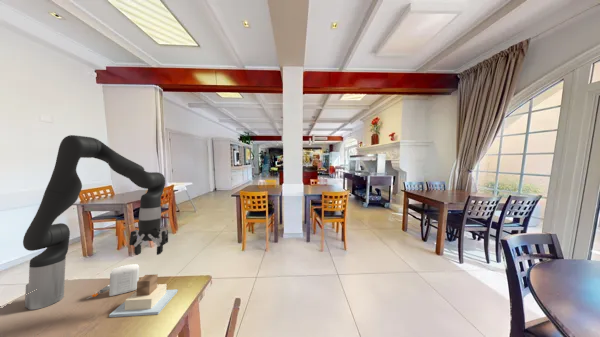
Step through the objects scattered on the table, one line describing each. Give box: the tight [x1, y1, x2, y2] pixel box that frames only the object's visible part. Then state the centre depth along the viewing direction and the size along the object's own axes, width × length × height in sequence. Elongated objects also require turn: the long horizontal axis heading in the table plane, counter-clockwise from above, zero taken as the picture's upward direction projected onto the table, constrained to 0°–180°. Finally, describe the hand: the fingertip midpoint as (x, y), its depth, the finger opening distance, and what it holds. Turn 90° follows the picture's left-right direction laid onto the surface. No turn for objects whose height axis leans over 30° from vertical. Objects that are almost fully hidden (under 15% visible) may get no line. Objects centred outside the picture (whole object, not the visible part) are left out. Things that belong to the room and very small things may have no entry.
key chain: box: [86, 284, 110, 300], centre depth 85 cm, size 13×4×2 cm, turn 174°
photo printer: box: [108, 263, 140, 297], centre depth 87 cm, size 10×4×12 cm, turn 123°
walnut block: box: [136, 273, 158, 296], centre depth 79 cm, size 5×5×6 cm
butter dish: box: [108, 283, 179, 318], centre depth 79 cm, size 18×14×5 cm
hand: (148, 254), depth 80 cm, fingers open, 8 cm apart
